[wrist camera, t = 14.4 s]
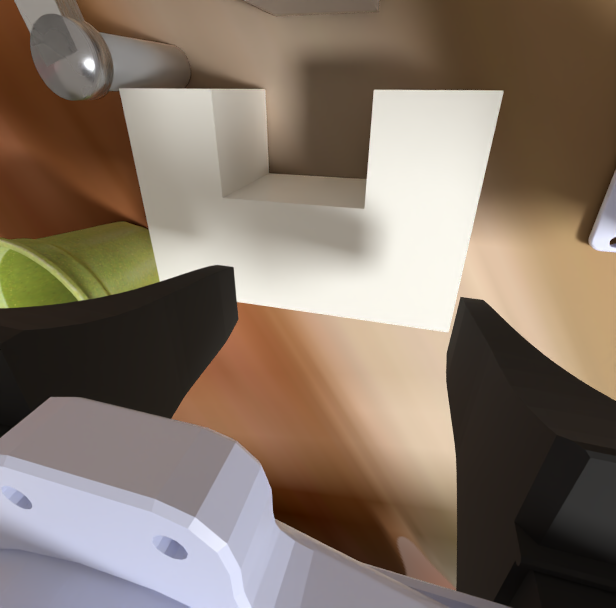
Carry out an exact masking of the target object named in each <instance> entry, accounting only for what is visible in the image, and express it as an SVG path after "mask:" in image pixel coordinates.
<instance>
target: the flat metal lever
mask: <svg viewBox="0 0 616 608" xmlns="http://www.w3.org/2000/svg"><path fill="white" fill-rule="evenodd" d="M14 1H15V3H16V5H17V7H18V9H19V11H20V13H21V15H22V17H23V19H24V21H25V23H26V25H27V27H28V29H29V32H30V34H31V36H30V47H31V54H32V58H33V61H34V64H35V67H36V69H37V71H38V73H39V75H40V77H41V78H42V80H43V81H44V82H45V84H46V85H47V86H48V87H49V88H50V89H51V90H52V91H53V92H54V93H55V94H57V95H58V96H60V97H62V98H64V99H67V100H96V99H100V98H102V97H104V96H105V95H106V94H107V93H108V92H109V90H110V88H111V85H112V82H113V76H114V68H113V61H112V57H111V53H110V51H109V48H108V46H107V44H106V42H105V40H104V39H103V37H102V36H101V34H100V33H99V32H98V31H97V30H96V29H95V28H94V27H93V26H92V25H91V24H89V23H88V22H86V21H84V18H83V16H82V14H81V11H80V9H79V7H78V5H77V2H76V0H14Z"/></svg>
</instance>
